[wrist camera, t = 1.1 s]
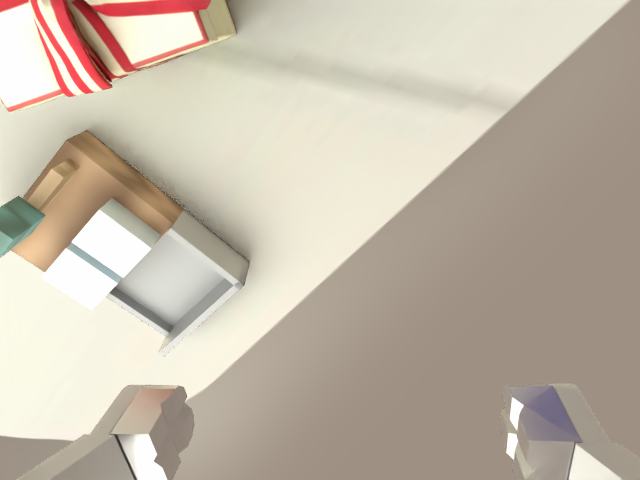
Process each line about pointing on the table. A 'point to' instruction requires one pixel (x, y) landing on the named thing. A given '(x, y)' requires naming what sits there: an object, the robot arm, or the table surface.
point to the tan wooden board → (92, 199)
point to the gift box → (96, 42)
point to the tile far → (81, 276)
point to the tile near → (116, 237)
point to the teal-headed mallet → (32, 207)
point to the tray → (181, 280)
